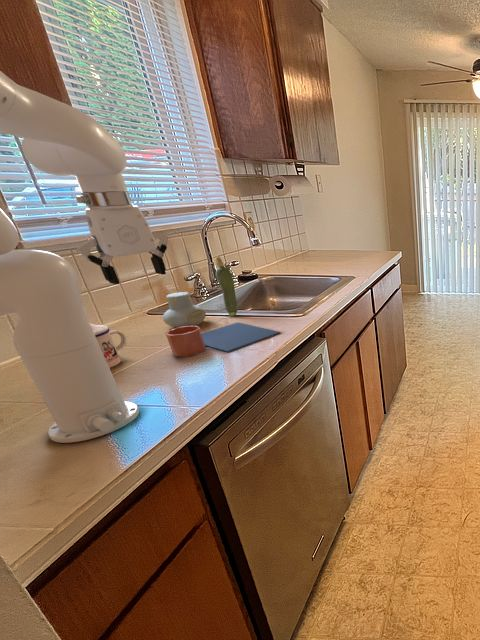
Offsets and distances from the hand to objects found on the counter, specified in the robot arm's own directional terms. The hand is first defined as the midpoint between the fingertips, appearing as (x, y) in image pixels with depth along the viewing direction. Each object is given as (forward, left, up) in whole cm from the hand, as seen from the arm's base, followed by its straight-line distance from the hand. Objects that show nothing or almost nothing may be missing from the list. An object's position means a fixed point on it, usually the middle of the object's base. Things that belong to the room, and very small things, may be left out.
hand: (138, 278), depth 94 cm
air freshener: (+22, -17, -21) cm, 34 cm away
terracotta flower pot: (-1, -5, -21) cm, 21 cm away
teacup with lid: (+10, +9, -21) cm, 25 cm away
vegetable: (+18, -30, -21) cm, 40 cm away
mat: (-1, -17, -20) cm, 26 cm away
